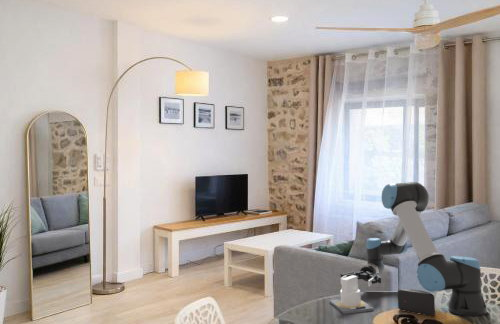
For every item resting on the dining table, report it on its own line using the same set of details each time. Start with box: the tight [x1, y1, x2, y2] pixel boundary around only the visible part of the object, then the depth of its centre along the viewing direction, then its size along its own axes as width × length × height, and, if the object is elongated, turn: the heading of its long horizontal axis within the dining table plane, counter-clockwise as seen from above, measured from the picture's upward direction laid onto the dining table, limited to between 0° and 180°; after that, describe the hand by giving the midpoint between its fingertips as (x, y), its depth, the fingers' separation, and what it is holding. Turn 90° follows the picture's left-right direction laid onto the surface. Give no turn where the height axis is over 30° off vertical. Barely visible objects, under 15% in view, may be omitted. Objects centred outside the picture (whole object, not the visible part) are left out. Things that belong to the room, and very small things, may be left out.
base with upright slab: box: [339, 275, 362, 307], centre depth 222 cm, size 9×9×12 cm
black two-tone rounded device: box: [397, 288, 436, 316], centre depth 210 cm, size 16×5×9 cm, turn 48°
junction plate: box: [329, 298, 375, 315], centre depth 222 cm, size 18×14×2 cm
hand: (354, 282), depth 228 cm, fingers open, 13 cm apart
